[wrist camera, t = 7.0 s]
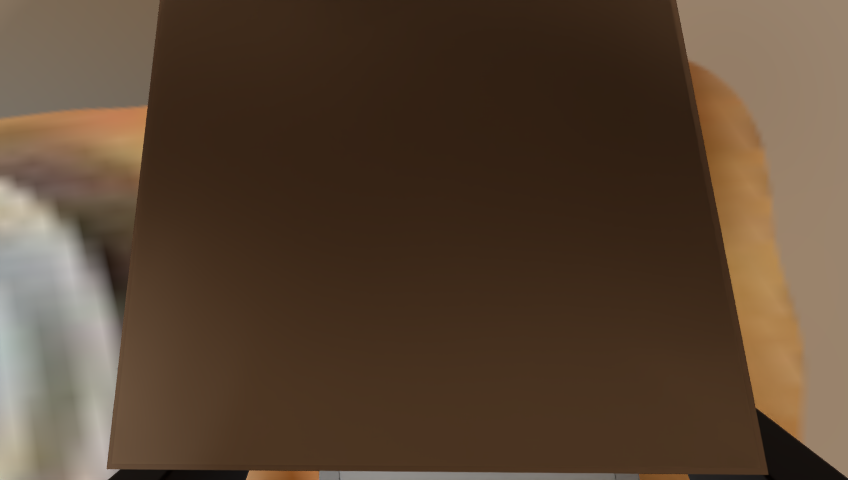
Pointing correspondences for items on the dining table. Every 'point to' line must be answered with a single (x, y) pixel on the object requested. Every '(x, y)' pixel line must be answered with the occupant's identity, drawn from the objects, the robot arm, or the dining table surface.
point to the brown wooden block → (428, 245)
